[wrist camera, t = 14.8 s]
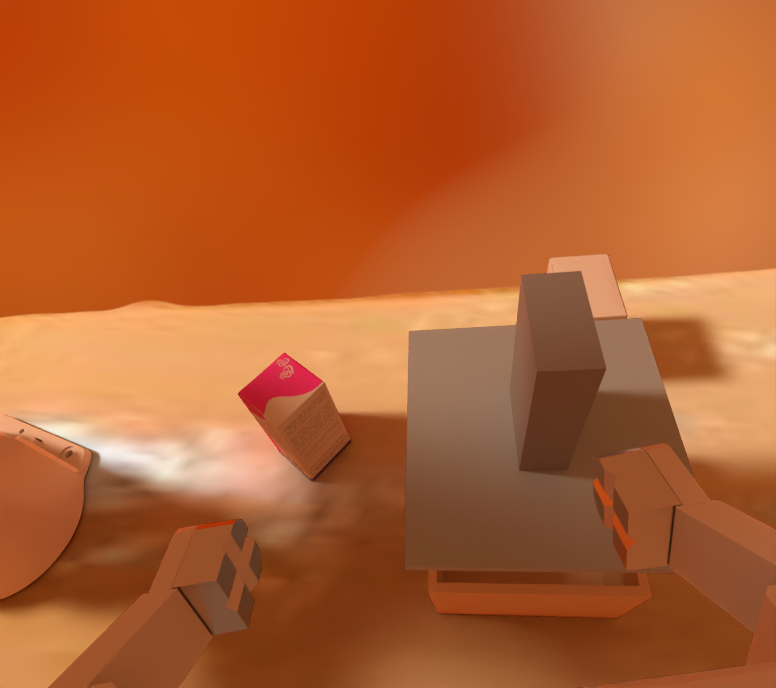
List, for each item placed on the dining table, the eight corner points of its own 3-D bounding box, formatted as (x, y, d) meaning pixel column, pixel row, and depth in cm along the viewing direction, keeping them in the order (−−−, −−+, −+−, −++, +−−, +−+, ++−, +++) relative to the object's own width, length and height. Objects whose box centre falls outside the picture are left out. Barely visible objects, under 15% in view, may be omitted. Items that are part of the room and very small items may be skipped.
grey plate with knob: (406, 570, 25) (369, 502, 17) (410, 338, 34) (387, 213, 25) (718, 574, 23) (861, 499, 15) (638, 325, 32) (698, 185, 23)
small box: (604, 381, 51) (629, 317, 42) (548, 382, 52) (562, 320, 43) (589, 320, 55) (609, 251, 47) (538, 322, 56) (549, 256, 48)
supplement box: (353, 439, 51) (326, 382, 42) (312, 483, 49) (274, 433, 40) (316, 409, 54) (283, 349, 45) (276, 449, 52) (232, 395, 42)
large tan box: (437, 613, 41) (427, 592, 33) (435, 453, 49) (426, 405, 41) (616, 618, 39) (652, 596, 31) (582, 450, 47) (604, 399, 39)
